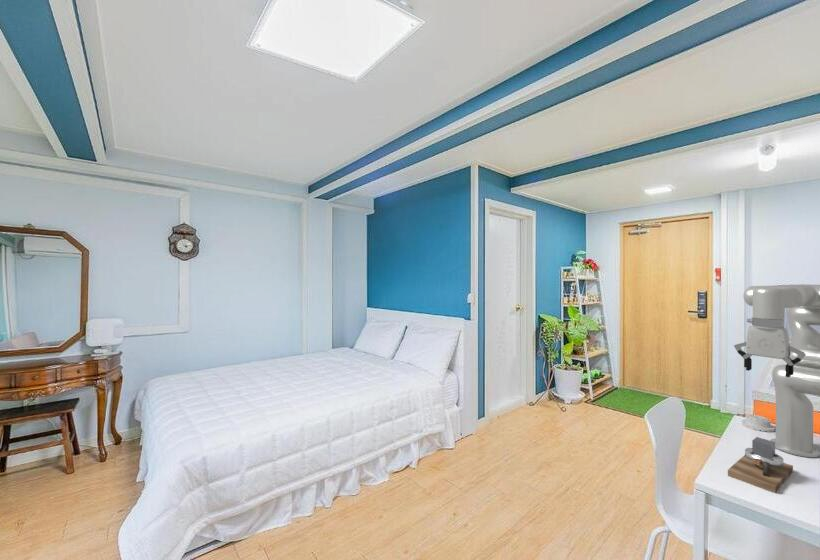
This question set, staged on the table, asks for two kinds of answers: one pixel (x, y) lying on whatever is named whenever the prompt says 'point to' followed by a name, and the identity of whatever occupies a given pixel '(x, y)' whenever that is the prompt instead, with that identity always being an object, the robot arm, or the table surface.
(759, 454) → the flange plate
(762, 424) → the mechanical component
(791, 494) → the table surface
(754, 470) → the base board
